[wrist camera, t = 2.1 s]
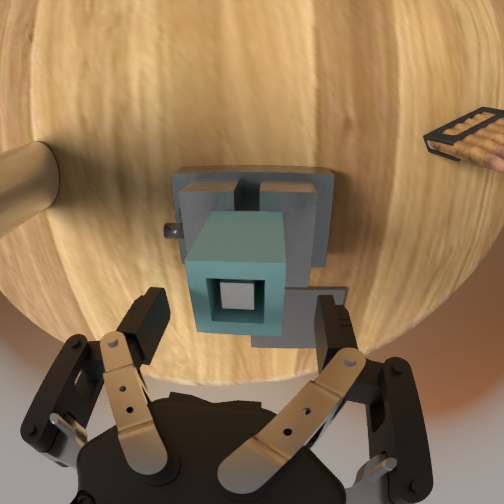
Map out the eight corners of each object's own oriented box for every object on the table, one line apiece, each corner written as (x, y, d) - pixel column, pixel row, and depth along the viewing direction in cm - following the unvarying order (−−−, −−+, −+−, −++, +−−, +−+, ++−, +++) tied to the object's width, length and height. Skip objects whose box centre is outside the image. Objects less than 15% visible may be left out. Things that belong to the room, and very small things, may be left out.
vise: (188, 249, 29) (140, 339, 17) (179, 167, 25) (103, 221, 13) (320, 252, 28) (346, 350, 16) (327, 167, 24) (378, 224, 12)
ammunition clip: (483, 106, 18) (559, 122, 7) (488, 121, 18) (562, 142, 8) (422, 136, 21) (502, 162, 11) (428, 152, 22) (506, 187, 11)
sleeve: (217, 269, 22) (197, 331, 16) (212, 211, 19) (184, 260, 13) (279, 271, 21) (280, 336, 15) (282, 211, 19) (286, 263, 13)
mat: (251, 343, 36) (251, 347, 35) (250, 285, 31) (249, 288, 30) (330, 344, 35) (331, 347, 34) (344, 286, 30) (345, 289, 30)
